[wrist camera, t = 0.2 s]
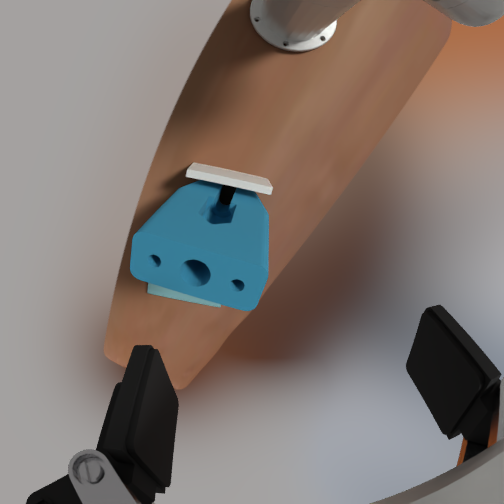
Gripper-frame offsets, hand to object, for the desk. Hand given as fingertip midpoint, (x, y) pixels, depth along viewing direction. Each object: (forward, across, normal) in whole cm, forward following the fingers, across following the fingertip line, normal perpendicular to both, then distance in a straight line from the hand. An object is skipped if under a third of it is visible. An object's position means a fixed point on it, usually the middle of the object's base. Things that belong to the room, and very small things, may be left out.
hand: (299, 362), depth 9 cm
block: (+35, +3, +3) cm, 36 cm away
